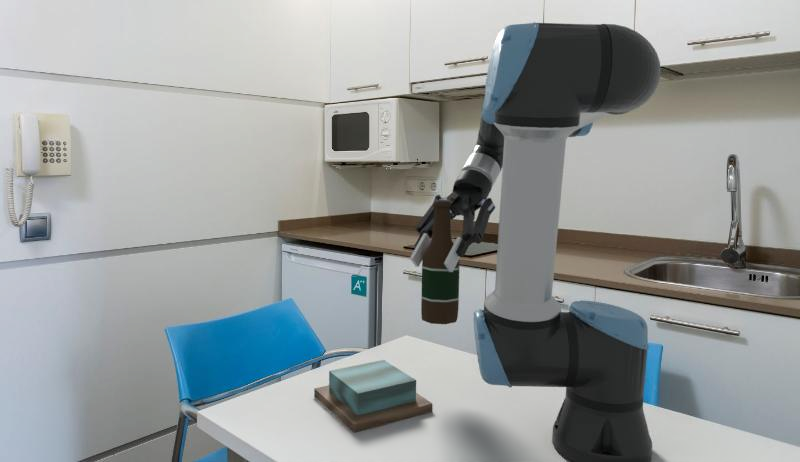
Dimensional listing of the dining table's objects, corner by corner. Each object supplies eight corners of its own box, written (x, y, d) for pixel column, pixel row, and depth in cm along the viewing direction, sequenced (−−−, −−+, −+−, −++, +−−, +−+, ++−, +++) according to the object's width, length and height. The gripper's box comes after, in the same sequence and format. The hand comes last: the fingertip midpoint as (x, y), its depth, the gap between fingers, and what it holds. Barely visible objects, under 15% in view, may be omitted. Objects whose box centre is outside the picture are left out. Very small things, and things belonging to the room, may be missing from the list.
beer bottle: (465, 318, 116) (468, 200, 113) (448, 327, 109) (451, 202, 106) (432, 312, 120) (434, 198, 117) (413, 320, 113) (415, 200, 110)
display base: (432, 411, 104) (432, 382, 103) (354, 432, 96) (354, 401, 95) (385, 379, 119) (386, 354, 118) (314, 395, 110) (314, 368, 109)
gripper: (525, 194, 117) (482, 283, 107) (443, 190, 130) (398, 270, 119) (514, 168, 112) (468, 259, 102) (430, 166, 125) (382, 247, 114)
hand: (430, 265), depth 110 cm, fingers closed on beer bottle, 7 cm apart
